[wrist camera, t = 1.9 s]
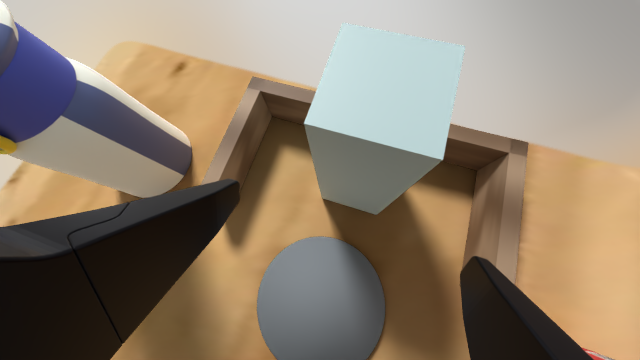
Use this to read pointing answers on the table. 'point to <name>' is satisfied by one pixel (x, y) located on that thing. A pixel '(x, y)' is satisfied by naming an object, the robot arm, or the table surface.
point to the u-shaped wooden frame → (461, 149)
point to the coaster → (321, 302)
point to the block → (381, 114)
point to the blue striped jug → (81, 120)
